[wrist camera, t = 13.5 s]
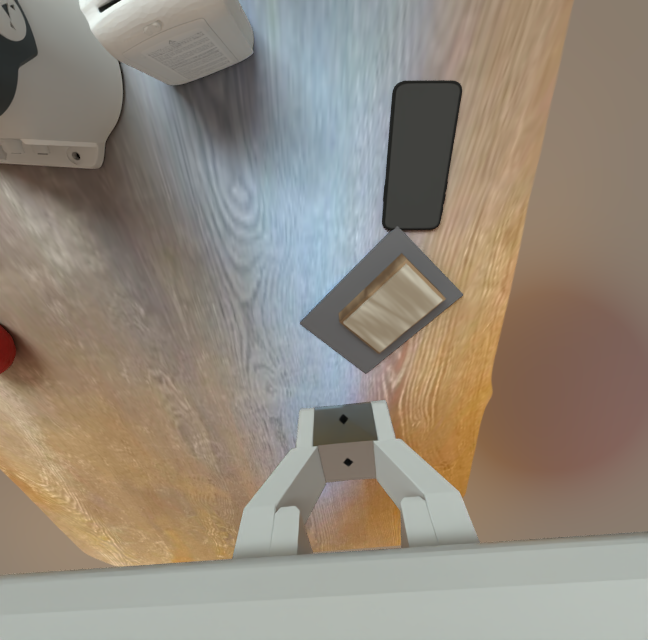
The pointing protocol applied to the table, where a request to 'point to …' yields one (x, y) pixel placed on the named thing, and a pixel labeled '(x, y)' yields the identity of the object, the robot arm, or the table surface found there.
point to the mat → (378, 259)
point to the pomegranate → (6, 350)
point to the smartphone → (419, 153)
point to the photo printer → (172, 35)
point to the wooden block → (390, 305)
